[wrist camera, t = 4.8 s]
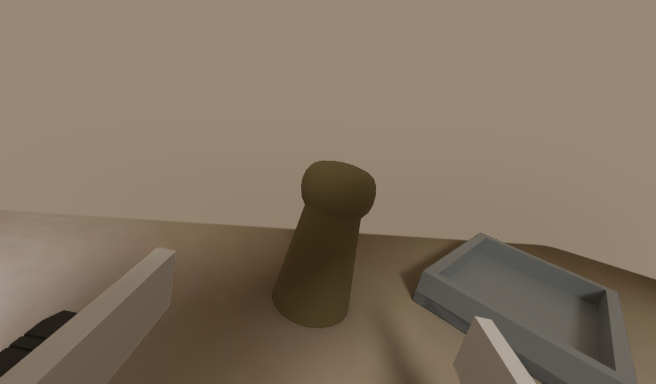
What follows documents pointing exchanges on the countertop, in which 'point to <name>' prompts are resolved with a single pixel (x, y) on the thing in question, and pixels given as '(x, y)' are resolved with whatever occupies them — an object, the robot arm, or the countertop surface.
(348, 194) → the cork
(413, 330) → the countertop surface
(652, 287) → the countertop surface
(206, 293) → the countertop surface
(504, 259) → the tray
